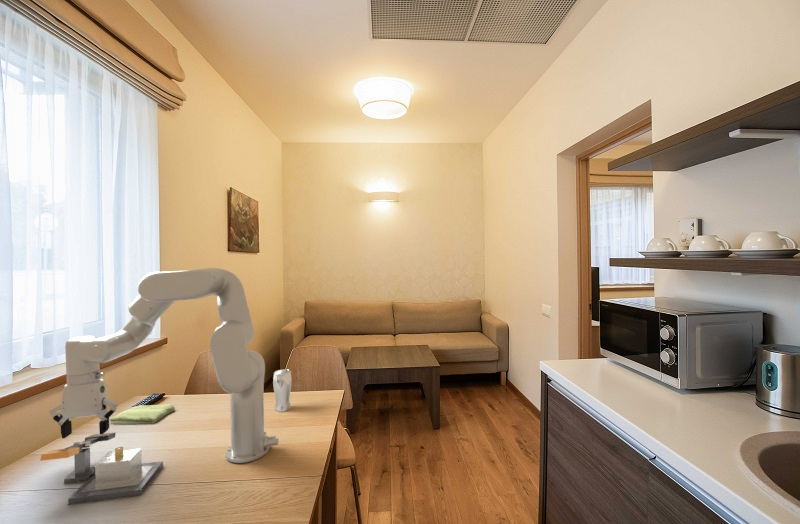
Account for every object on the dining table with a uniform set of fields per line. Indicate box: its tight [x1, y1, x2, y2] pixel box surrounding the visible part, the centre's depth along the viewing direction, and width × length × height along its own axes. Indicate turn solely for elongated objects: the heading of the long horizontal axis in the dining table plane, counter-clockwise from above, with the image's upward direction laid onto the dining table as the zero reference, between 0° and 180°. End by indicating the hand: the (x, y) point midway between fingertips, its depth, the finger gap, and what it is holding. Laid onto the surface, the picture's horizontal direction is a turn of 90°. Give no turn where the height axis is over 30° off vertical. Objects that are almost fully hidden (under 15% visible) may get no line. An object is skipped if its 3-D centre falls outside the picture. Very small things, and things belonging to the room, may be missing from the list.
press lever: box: [39, 432, 117, 461], centre depth 100 cm, size 6×21×2 cm, turn 12°
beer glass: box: [272, 368, 292, 413], centre depth 143 cm, size 7×7×15 cm
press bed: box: [63, 447, 164, 505], centre depth 97 cm, size 23×15×7 cm, turn 102°
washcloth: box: [109, 403, 175, 425], centre depth 137 cm, size 13×18×3 cm
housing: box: [94, 446, 143, 487], centre depth 97 cm, size 8×6×8 cm
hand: (85, 434), depth 108 cm, fingers open, 9 cm apart
